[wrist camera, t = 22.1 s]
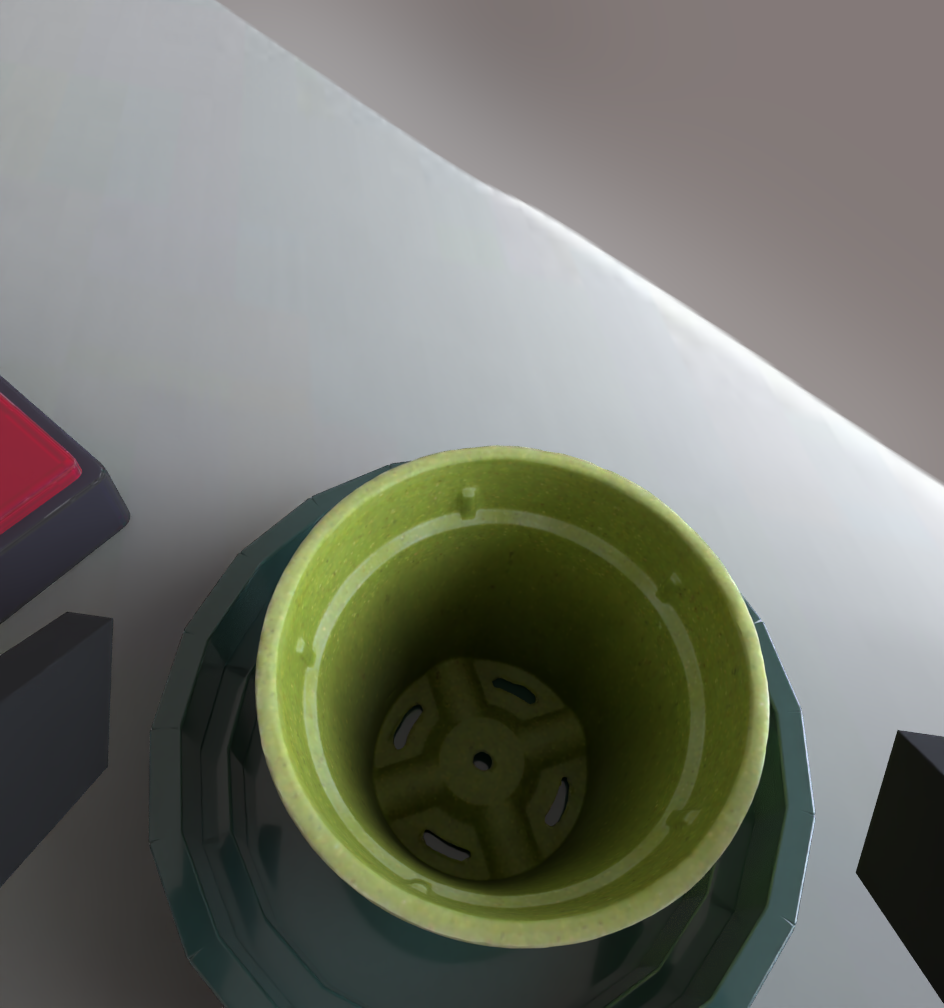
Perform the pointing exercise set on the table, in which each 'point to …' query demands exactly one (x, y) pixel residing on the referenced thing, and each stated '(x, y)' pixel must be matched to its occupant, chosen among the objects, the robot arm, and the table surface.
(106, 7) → the table surface
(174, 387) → the table surface
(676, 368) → the table surface
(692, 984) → the bowl
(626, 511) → the plant pot
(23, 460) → the calculator
